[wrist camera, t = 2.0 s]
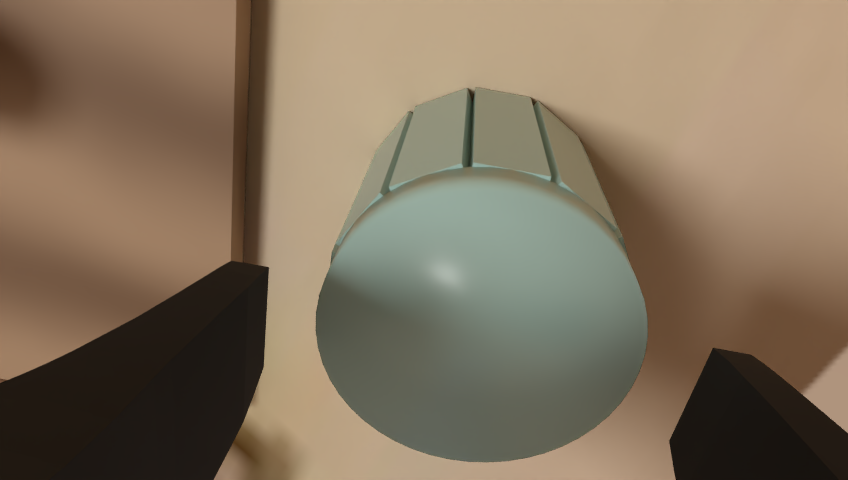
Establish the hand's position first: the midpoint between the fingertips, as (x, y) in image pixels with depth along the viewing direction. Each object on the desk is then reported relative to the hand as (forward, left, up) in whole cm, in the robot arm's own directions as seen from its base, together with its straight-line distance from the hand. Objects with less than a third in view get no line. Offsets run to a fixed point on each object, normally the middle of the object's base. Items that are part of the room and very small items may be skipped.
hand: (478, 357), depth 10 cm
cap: (0, 0, -7) cm, 7 cm away
